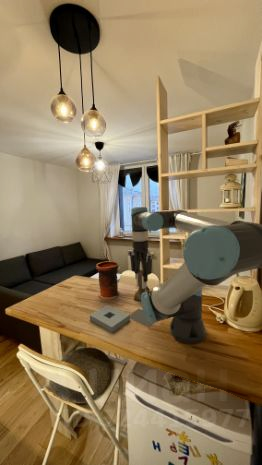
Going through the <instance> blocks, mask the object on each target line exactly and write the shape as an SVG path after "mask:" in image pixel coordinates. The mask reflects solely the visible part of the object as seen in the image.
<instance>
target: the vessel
mask: <svg viewBox="0 0 262 465" xmlns="http://www.w3.org/2000/svg"><path fill="white" fill-rule="evenodd" d="M119 267H120V266H119V263H118V262H116V261H112V260H108V261H107V260H106V261H101V262H99V263H97V264H96V265H95V269H96V271H97V273H98V284H99V285H98V286H99V291H100V293H99V294H98V296H99V297H100V298H101V299H105V300H106V299H107V300H109V299H114V298H116V297H117V296H119V295H120V292H119V288H118V285H119V284H118V283H119V282H118V273H119V271H118V269H119Z"/></svg>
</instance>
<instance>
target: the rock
mask: <svg viewBox="0 0 262 465" xmlns="http://www.w3.org/2000/svg"><path fill="white" fill-rule="evenodd" d="M146 291H147V292H148V291H151V290H150V288H149V287H148V286H147V287H146V288H145V292H146ZM133 300H134V301H141V295H139V288H137V291H135V292H134V296H133Z"/></svg>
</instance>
